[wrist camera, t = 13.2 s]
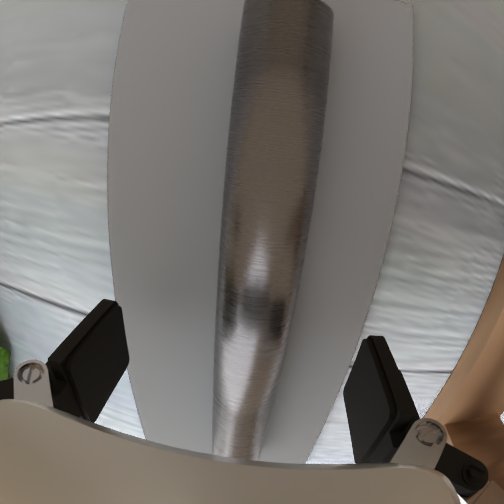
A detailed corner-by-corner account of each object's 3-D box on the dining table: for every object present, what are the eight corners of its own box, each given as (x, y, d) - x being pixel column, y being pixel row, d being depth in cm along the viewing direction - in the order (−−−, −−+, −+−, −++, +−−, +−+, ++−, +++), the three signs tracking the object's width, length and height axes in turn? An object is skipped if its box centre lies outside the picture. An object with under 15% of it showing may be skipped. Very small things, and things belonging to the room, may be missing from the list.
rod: (230, 12, 8) (270, -18, 6) (301, 31, 9) (352, 14, 7) (205, 454, 17) (221, 488, 14) (245, 443, 18) (264, 475, 16)
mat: (407, 10, 8) (412, 6, 8) (301, 462, 19) (301, 468, 18) (136, -12, 9) (131, -16, 8) (150, 441, 19) (148, 446, 19)
